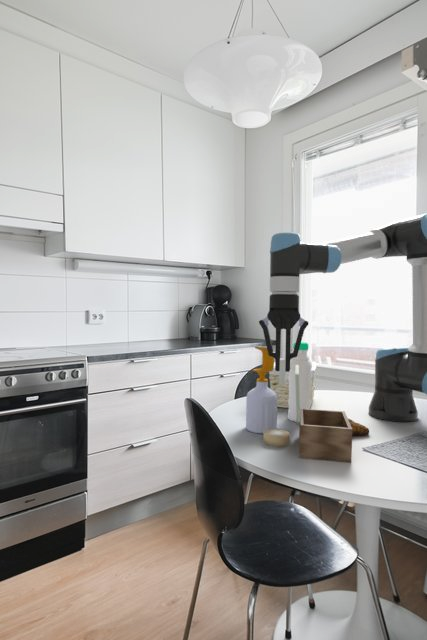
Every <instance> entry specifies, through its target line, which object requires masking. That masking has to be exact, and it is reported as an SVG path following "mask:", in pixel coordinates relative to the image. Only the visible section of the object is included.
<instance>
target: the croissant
mask: <svg viewBox="0 0 427 640" xmlns="http://www.w3.org/2000/svg"><path fill="white" fill-rule="evenodd" d="M348 420H349V423H350V425H351V427H352V436H367V435H370V429H369V428H368V427H367V426H366V425H364V424H361V423H358V422H356V421H353V420H352V419H350V418H348Z"/></svg>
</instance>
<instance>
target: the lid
mask: <svg viewBox="0 0 427 640" xmlns="http://www.w3.org/2000/svg"><path fill="white" fill-rule="evenodd" d="M295 379H296V412H297V417H296V422H295V423H296V426H298V427H299V426H300V425H301V417H300V394H299V365H296V370H295Z"/></svg>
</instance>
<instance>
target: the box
mask: <svg viewBox="0 0 427 640" xmlns="http://www.w3.org/2000/svg"><path fill="white" fill-rule="evenodd" d="M300 417H301V425H300V426H298V427H299V430H298V435H299V436H298V438H299V439H298V441H299V442H298V448H299V449H298V450H299V451H298V455H299V457H298V458H300V459H309V460H320V461H328V462H330V461H331V462H341V463H342V462H343V463H352V457H353V456H352V455H353V452H352V449H353V435H352V427H351V425H350V423H349V420H348V419H349V418H348V416H347V414H346V412H345V410H344V411H343V410H342V411H341V410H330V409H328V410H327V409H315V408H314V409H313V408H310V409H301V408H300Z"/></svg>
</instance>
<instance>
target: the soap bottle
mask: <svg viewBox="0 0 427 640" xmlns="http://www.w3.org/2000/svg"><path fill="white" fill-rule="evenodd" d="M254 348H255V349H256V350H259V351H260V352H261V353H262V356H261V357H262V359H261V360H262V362H261V363H262V364H261V367H259V368H254V369H252V371H253V372H256V373H257V375H258V376H259V378H257V379H256V386H255V387H253V388H252V389H250V390H249V391H248V392H247V394H246V402H245V403H246V408H245V410H246V413H245V414H246V415H245V418H246V419H245V429H246V430H248V431H249V432H251V433H253V434H254V433H255V434H261V435H264V431H266V430H270V429H278V427H277V425H278V407H277V395H276V393H275V392H274V391H273V390H271V389H270V387H268V386H269V381H268V379H269V378H266V375H268V373H269V372H270V371H273V369H274V363H275V358H274V357H271V356H269V355H268V350H267V347H262V346H254Z"/></svg>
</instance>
